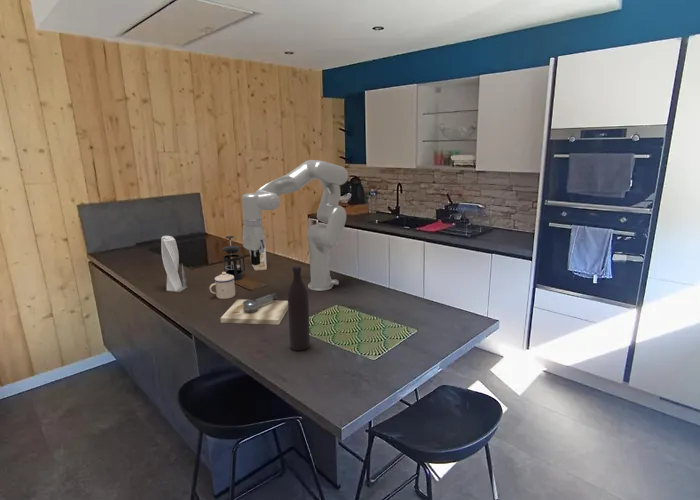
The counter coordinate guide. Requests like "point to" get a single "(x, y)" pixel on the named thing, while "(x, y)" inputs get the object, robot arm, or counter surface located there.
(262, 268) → the coffeecake box
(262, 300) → the lever
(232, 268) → the french press
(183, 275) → the skyscraper
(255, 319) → the wooden cutting board
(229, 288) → the teacup with lid
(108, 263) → the counter surface
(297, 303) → the wine bottle
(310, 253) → the robot arm
